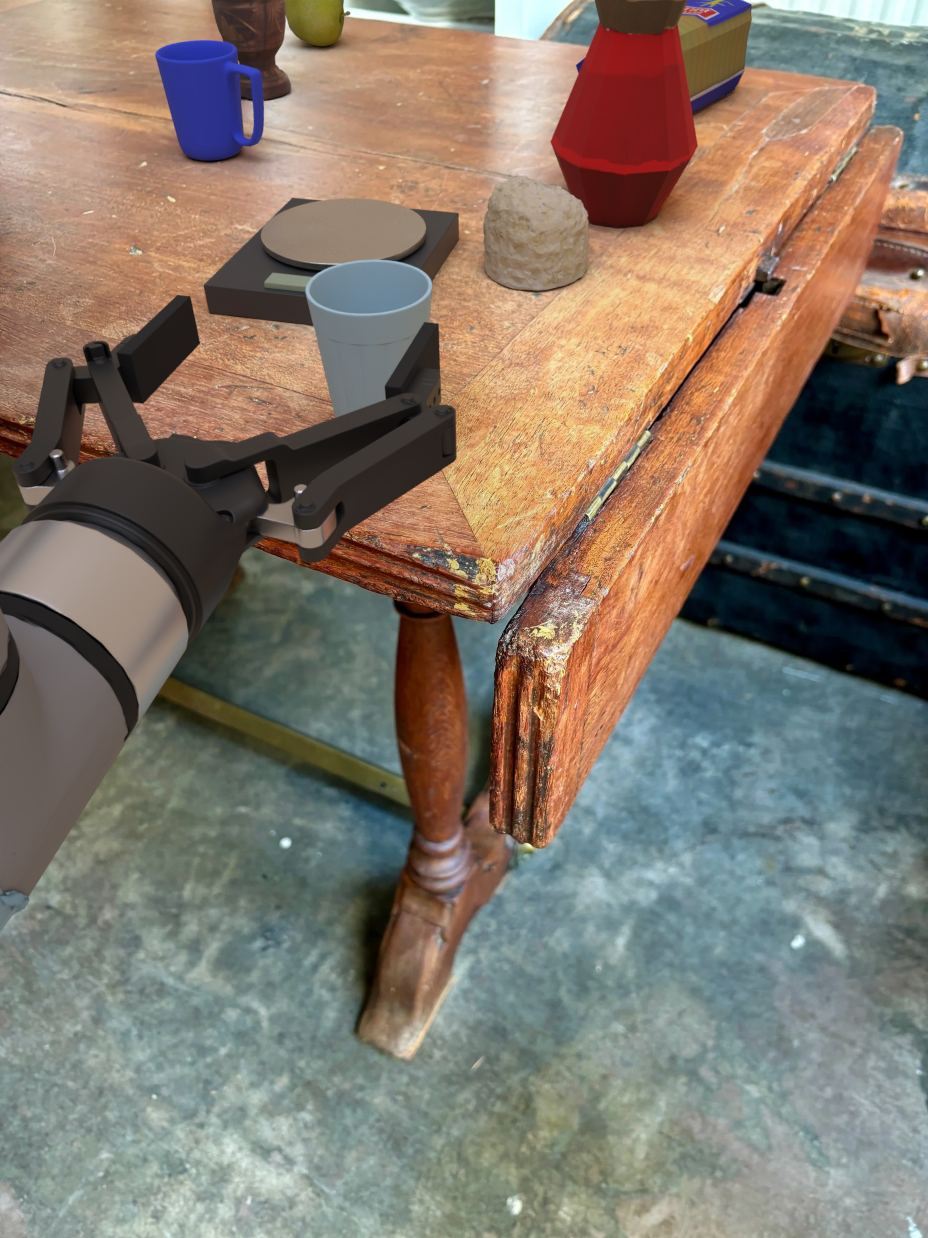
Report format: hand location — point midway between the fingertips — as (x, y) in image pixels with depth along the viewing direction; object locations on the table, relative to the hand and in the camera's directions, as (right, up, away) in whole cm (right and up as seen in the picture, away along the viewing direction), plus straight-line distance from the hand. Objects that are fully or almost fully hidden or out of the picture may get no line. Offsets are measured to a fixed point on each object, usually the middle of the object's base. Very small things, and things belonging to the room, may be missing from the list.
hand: (308, 332), depth 52 cm
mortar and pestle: (-17, +50, +71) cm, 88 cm away
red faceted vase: (+23, +24, +44) cm, 55 cm away
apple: (-12, +66, +88) cm, 111 cm away
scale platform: (-2, +18, +33) cm, 37 cm away
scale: (-2, +15, +33) cm, 37 cm away
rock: (+14, +15, +34) cm, 40 cm away
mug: (-17, +35, +55) cm, 68 cm away
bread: (+32, +45, +66) cm, 86 cm away
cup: (+2, -3, +15) cm, 16 cm away
